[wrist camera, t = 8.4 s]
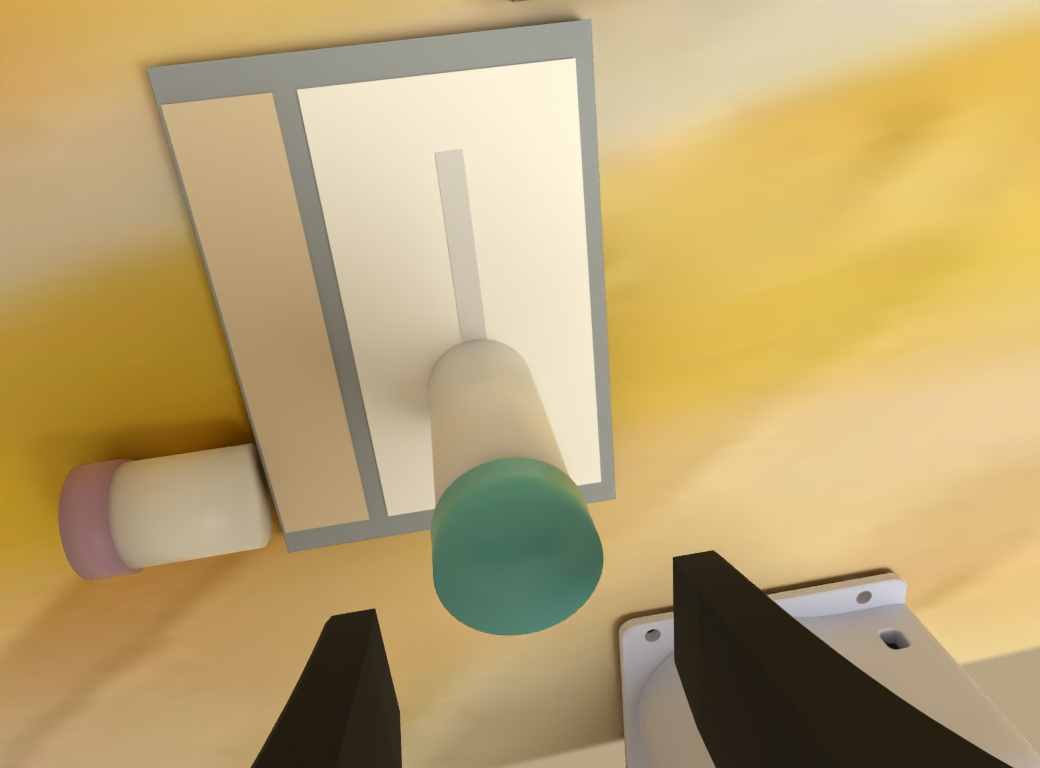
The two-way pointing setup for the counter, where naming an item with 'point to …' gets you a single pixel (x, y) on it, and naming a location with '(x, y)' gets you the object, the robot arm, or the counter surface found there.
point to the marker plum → (163, 510)
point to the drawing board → (396, 252)
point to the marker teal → (504, 498)
